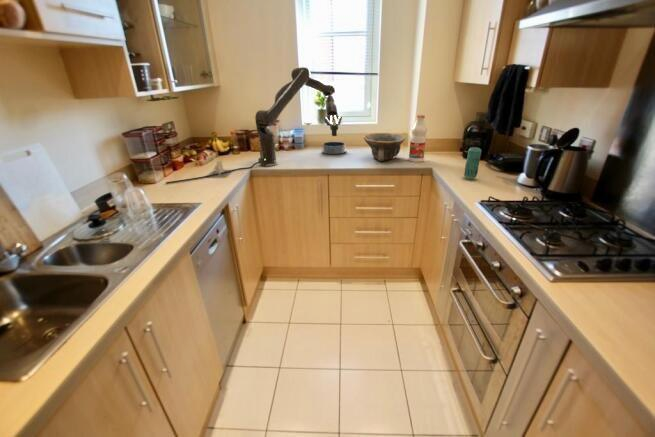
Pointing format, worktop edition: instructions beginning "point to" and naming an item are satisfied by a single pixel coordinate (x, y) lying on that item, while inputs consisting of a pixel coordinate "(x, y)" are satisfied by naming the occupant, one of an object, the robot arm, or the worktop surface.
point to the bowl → (384, 145)
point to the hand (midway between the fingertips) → (334, 129)
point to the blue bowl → (334, 147)
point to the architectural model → (219, 170)
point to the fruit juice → (418, 140)
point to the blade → (334, 129)
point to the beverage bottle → (473, 160)
